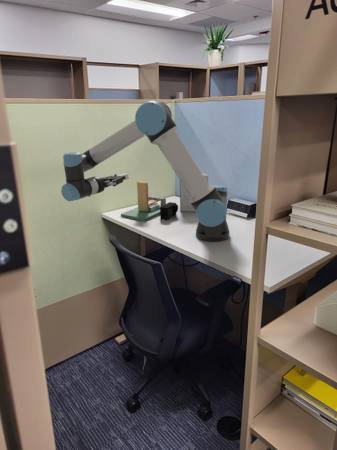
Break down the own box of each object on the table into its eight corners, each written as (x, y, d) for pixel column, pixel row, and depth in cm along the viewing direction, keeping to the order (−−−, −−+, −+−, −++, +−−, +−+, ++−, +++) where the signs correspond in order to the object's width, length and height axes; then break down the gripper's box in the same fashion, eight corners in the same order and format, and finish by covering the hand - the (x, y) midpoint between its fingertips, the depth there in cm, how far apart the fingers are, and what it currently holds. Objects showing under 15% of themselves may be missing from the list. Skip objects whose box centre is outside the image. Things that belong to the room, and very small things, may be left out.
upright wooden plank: (147, 212, 187) (145, 183, 181) (138, 210, 190) (136, 181, 184) (162, 205, 198) (161, 177, 193) (154, 204, 201) (153, 176, 196)
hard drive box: (207, 208, 199) (208, 173, 192) (207, 212, 191) (208, 176, 185) (180, 207, 200) (180, 173, 193) (179, 211, 193) (179, 176, 186)
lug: (162, 207, 195) (162, 199, 194) (148, 205, 200) (148, 196, 199) (165, 206, 198) (165, 197, 196) (151, 203, 203) (151, 195, 201)
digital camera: (169, 221, 178) (169, 208, 176) (160, 219, 180) (160, 206, 178) (178, 215, 187) (178, 203, 184) (169, 214, 189) (169, 201, 187)
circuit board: (144, 221, 178) (144, 218, 177) (120, 216, 186) (120, 213, 186) (171, 209, 197) (171, 206, 197) (148, 205, 206) (148, 202, 205)
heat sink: (151, 212, 188) (150, 206, 187) (139, 209, 192) (139, 204, 191) (159, 208, 194) (159, 203, 193) (147, 206, 198) (147, 201, 197)
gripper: (83, 192, 159) (118, 182, 177) (104, 195, 152) (138, 184, 171) (81, 176, 157) (116, 167, 175) (103, 178, 150) (137, 169, 168)
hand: (127, 175), depth 173 cm, fingers closed
